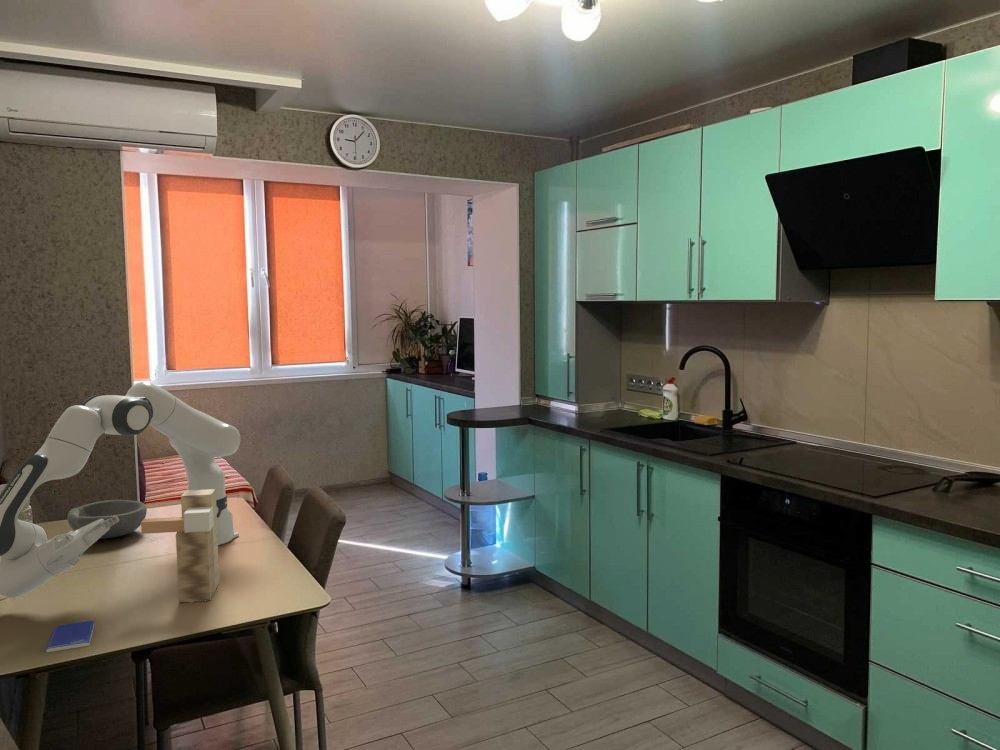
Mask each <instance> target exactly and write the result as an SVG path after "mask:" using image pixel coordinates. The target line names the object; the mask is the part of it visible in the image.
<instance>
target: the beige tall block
mask: <svg viewBox="0 0 1000 750" xmlns="http://www.w3.org/2000/svg"><path fill="white" fill-rule="evenodd" d="M180 503H181V504H180V505H181V517H184V513H185V511H186V510H187V509H188V508H195V507H213V519H214V526H213V527H212V529H211V530H210V531H209V532H191V533H185V532H175V544H176V545H175V546H176V564H177V565H176V566H177V570H176V571H177V589H178V604H182V603H181V602H189V603H195V602H194V601H203V602H208V601H207V600H210V599H211V600H212V598H213V597H214V594H215V592H216V590H217V589H218V587H217V586H219V585H220V565H219V564H220V563H219V561H220V560H219V545H218V534H217V509H216V489H207V490H188V489H187V490H185V491H184V492H183V493H182V494H181V495H180ZM218 584H219V585H218ZM216 588H217V589H216ZM205 600H206V601H205ZM211 600H210V601H211Z"/></svg>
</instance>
